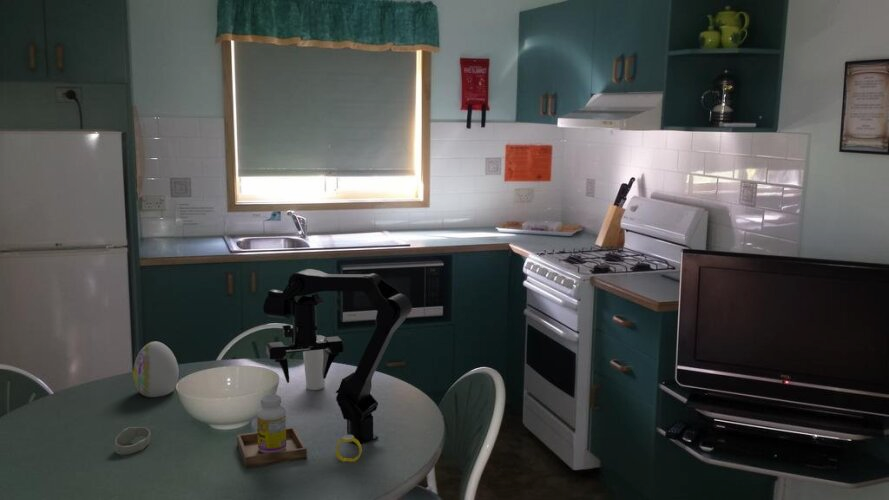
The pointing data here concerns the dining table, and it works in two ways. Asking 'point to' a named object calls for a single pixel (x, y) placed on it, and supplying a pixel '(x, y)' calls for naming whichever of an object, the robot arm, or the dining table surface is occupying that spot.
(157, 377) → the decorative egg
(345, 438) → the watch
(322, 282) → the robot arm
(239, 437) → the walnut tray
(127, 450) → the grey hollow oval piece
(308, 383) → the drinking glass
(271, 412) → the supplement bottle
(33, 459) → the dining table surface
